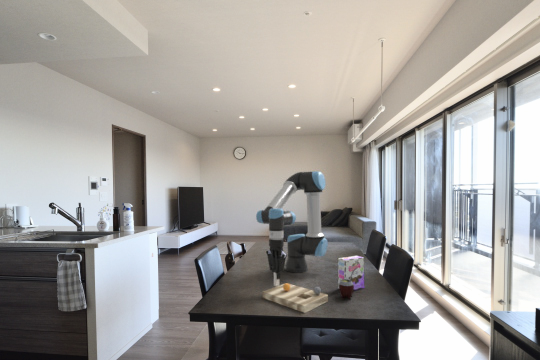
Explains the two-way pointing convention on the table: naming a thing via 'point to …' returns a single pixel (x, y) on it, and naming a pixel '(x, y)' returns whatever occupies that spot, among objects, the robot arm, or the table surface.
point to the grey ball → (317, 290)
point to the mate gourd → (346, 287)
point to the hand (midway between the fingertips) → (276, 285)
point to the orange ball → (286, 287)
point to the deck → (295, 297)
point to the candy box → (348, 266)
